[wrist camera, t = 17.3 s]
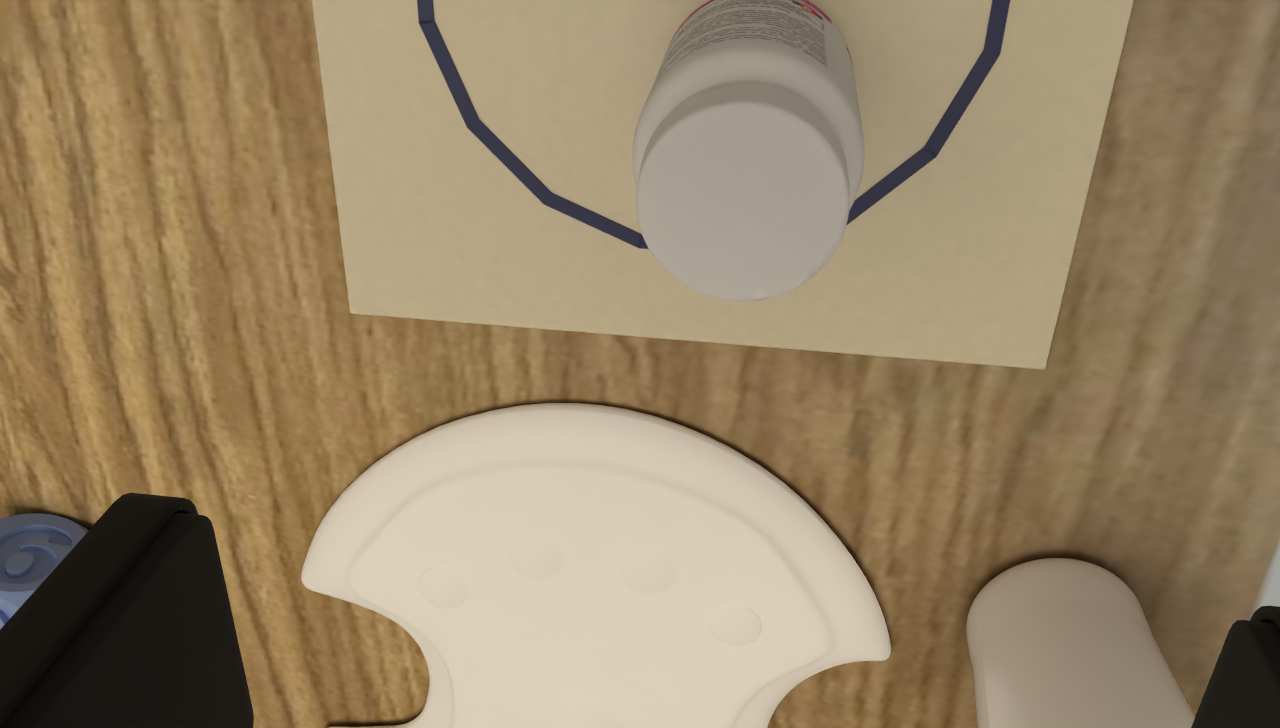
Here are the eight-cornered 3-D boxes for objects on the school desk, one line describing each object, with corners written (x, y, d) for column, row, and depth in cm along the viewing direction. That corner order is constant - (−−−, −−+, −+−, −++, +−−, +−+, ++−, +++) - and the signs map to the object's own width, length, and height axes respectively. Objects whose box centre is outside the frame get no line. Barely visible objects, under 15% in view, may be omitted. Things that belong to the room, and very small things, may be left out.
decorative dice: (11, 582, 40) (-62, 661, 37) (5, 499, 38) (-73, 574, 35) (117, 611, 40) (53, 692, 37) (116, 529, 38) (48, 607, 35)
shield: (324, 908, 45) (256, 392, 32) (339, 871, 46) (279, 363, 34) (817, 987, 43) (946, 478, 31) (816, 946, 45) (939, 444, 32)
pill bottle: (623, 63, 28) (561, 180, 20) (778, -60, 26) (770, 20, 18) (736, 206, 29) (716, 362, 22) (890, 99, 27) (923, 232, 20)
